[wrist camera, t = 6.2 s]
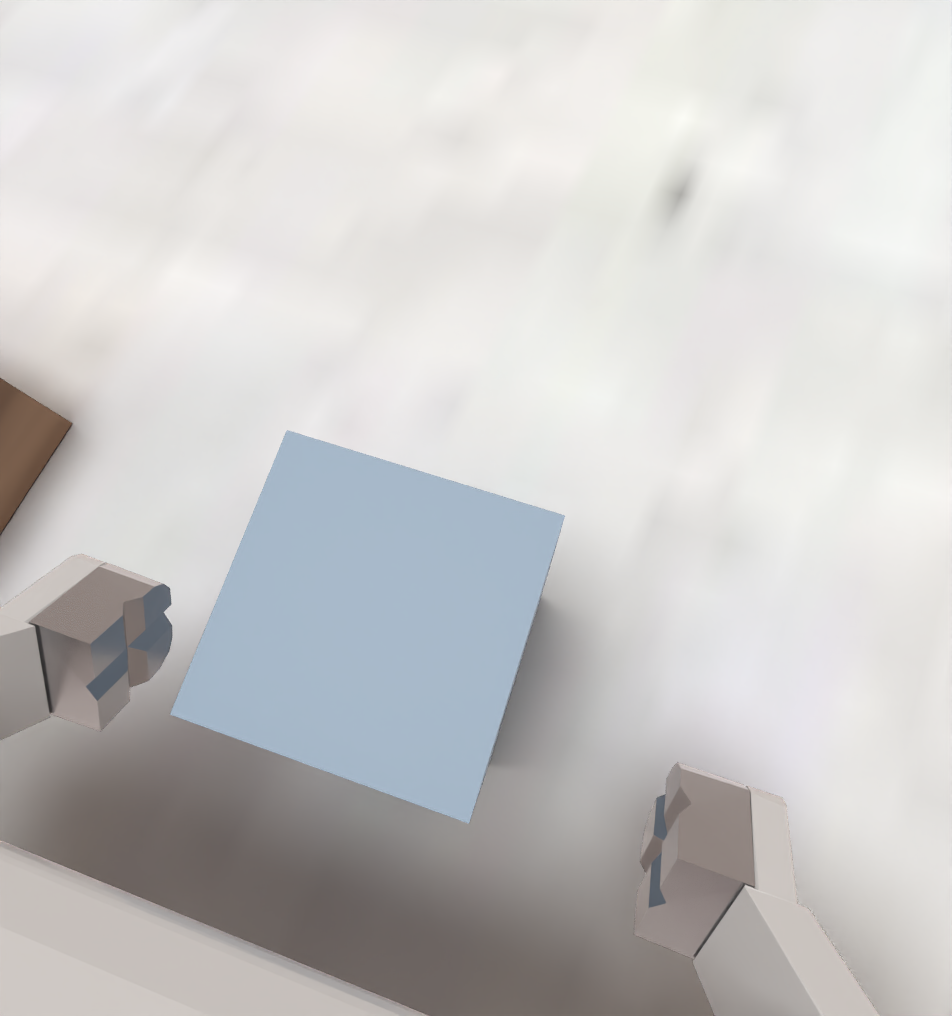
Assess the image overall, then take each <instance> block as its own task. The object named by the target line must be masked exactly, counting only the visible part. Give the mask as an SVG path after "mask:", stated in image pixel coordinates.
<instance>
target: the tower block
mask: <svg viewBox="0 0 952 1016" xmlns="http://www.w3.org/2000/svg"><path fill="white" fill-rule="evenodd" d="M564 517H565V516H564V515H561V514H558V513H555V512H551V511H548V510H545V509H542V508H538V507H535V506H532V505H529V504H525V503H522V502H519V501H516V500H512V499H509V498H506V497H503V496H499V495H496V494H493V493H490V492H486V491H483V490H480V489H477V488H473V487H470V486H467V485H464V484H460V483H457V482H454V481H451V480H447V479H444V478H441V477H438V476H434V475H431V474H428V473H425V472H421V471H418V470H415V469H412V468H408V467H405V466H402V465H399V464H395V463H392V462H389V461H386V460H382V459H379V458H376V457H373V456H369V455H366V454H363V453H359V452H356V451H353V450H350V449H346V448H343V447H340V446H337V445H333V444H330V443H327V442H324V441H320V440H317V439H314V438H311V437H307V436H304V435H301V434H298V433H294V432H291V431H288V430H287V431H286V434H285V436H284V438H283V441H282V443H281V446H280V448H279V451H278V453H277V455H276V458H275V460H274V463H273V465H272V468H271V470H270V472H269V475H268V477H267V480H266V482H265V485H264V487H263V489H262V492H261V494H260V497H259V499H258V502H257V504H256V506H255V509H254V511H253V514H252V516H251V519H250V521H249V523H248V526H247V528H246V531H245V533H244V536H243V538H242V540H241V543H240V545H239V548H238V550H237V553H236V555H235V557H234V560H233V562H232V565H231V567H230V570H229V572H228V574H227V577H226V579H225V582H224V584H223V587H222V589H221V591H220V594H219V596H218V599H217V601H216V604H215V606H214V608H213V611H212V613H211V616H210V618H209V621H208V623H207V625H206V628H205V630H204V633H203V635H202V638H201V640H200V642H199V645H198V647H197V650H196V652H195V655H194V657H193V659H192V662H191V664H190V667H189V669H188V672H187V674H186V676H185V679H184V681H183V684H182V686H181V689H180V691H179V693H178V696H177V698H176V701H175V703H174V706H173V708H172V710H171V713H170V715H173V716H175V717H178V718H181V719H183V720H186V721H189V722H192V723H194V724H197V725H200V726H203V727H205V728H208V729H211V730H214V731H216V732H219V733H222V734H225V735H227V736H230V737H233V738H236V739H238V740H241V741H244V742H247V743H249V744H252V745H255V746H257V747H260V748H263V749H266V750H268V751H271V752H274V753H277V754H279V755H282V756H285V757H288V758H290V759H293V760H296V761H299V762H301V763H304V764H307V765H310V766H312V767H315V768H318V769H321V770H323V771H326V772H329V773H331V774H334V775H337V776H340V777H342V778H345V779H348V780H351V781H353V782H356V783H359V784H362V785H364V786H367V787H370V788H373V789H375V790H378V791H381V792H384V793H386V794H389V795H392V796H395V797H397V798H400V799H403V800H405V801H408V802H411V803H414V804H416V805H419V806H422V807H425V808H427V809H430V810H433V811H436V812H438V813H441V814H444V815H447V816H449V817H452V818H455V819H458V820H460V821H463V822H466V823H469V822H470V819H471V816H472V813H473V810H474V807H475V804H476V801H477V798H478V795H479V792H480V789H481V786H482V783H483V780H484V777H485V774H486V772H487V769H488V766H489V762H490V759H491V756H492V753H493V750H494V746H495V743H496V740H497V737H498V733H499V730H500V727H501V724H502V721H503V717H504V714H505V711H506V708H507V705H508V701H509V698H510V695H511V692H512V689H513V685H514V682H515V679H516V676H517V672H518V669H519V666H520V663H521V660H522V656H523V653H524V650H525V647H526V644H527V640H528V637H529V634H530V631H531V628H532V624H533V621H534V618H535V615H536V611H537V608H538V605H539V602H540V599H541V595H542V592H543V589H544V585H545V582H546V578H547V575H548V572H549V568H550V565H551V561H552V558H553V555H554V551H555V548H556V544H557V541H558V538H559V534H560V531H561V527H562V524H563V521H564Z"/></svg>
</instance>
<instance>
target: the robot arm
mask: <svg viewBox="0 0 952 1016" xmlns="http://www.w3.org/2000/svg"><path fill="white" fill-rule="evenodd" d="M170 605H171V595H170V588H169V587H167V586H166V585H164V584H162V583H160V582H157V581H154V580H152V579H149V578H146V577H144V576H141V575H139V574H136V573H133V572H131V571H128V570H125V569H123V568H120V567H117V566H115V565H112V564H108V563H105V562H103V561H100V560H97V559H95V558H92V557H89V556H87V555H84V554H79V555H74V556H71V557H69V558H68V559H66V560H65V561H64V562H62V563H61V564H60V565H58V566H57V567H56V568H54V569H53V570H52V571H50V572H49V573H47V574H46V575H45V576H43V577H42V578H41V579H39V580H38V581H37V582H35V583H34V584H32V585H31V586H30V587H28V588H27V589H26V590H24V591H23V592H22V593H20V594H19V595H17V596H16V597H15V598H13V599H12V600H11V601H9V602H8V603H7V604H5V605H4V606H2V607H1V608H0V740H2V739H4V738H7V737H9V736H11V735H13V734H15V733H17V732H20V731H22V730H24V729H26V728H28V727H30V726H32V725H35V724H37V723H39V722H41V721H43V720H45V719H48V718H50V714H51V715H54V716H57V717H60V718H63V719H66V720H69V721H72V722H75V723H77V724H80V725H83V726H86V727H89V728H92V729H95V730H98V731H100V732H101V731H102V730H103V729H104V728H105V727H106V726H107V724H108V723H109V722H110V721H111V720H112V719H113V718H114V717H115V716H116V715H117V714H118V713H119V712H120V711H121V710H122V709H123V708H124V707H125V705H126V704H127V703H128V702H129V701H130V688H131V687H133V686H136V685H139V684H142V683H144V682H147V681H149V680H150V679H151V678H152V677H153V675H154V674H155V673H156V672H157V671H158V670H159V669H160V667H161V666H162V664H163V662H164V660H165V658H166V656H167V654H168V652H169V650H170V645H171V641H172V625H171V623H170V622H169V620H168V619H167V617H166V616H165V614H164V613H163V612H164V611H165V610H166V609H167V608H168V607H169V606H170ZM640 863H641V865H642V867H643V869H644V871H645V873H646V874H645V876H644V878H643V880H642V882H641V884H640V886H639V888H638V890H637V899H636V911H635V923H634V935H636V936H638V937H641V938H643V939H645V940H648V941H650V942H653V943H655V944H658V945H660V946H662V947H665V948H667V949H670V950H672V951H675V952H677V953H680V954H682V955H684V956H687V957H689V958H692V959H694V960H693V962H692V963H693V965H694V967H695V970H696V972H697V975H698V977H699V979H700V982H701V984H702V987H703V989H704V991H705V994H706V996H707V999H708V1001H709V1004H710V1006H711V1008H712V1011H713V1013H714V1016H880V1015H879V1014H878V1012H877V1011H876V1009H875V1008H874V1006H873V1005H872V1003H871V1002H870V1000H869V999H868V997H867V996H866V994H865V993H864V991H863V990H862V988H861V987H860V985H859V984H858V982H857V981H856V979H855V978H854V976H853V975H852V973H851V972H850V970H849V969H848V967H847V966H846V964H845V963H844V961H843V960H842V958H841V957H840V955H839V954H838V952H837V951H836V949H835V947H834V946H833V944H832V943H831V941H830V940H829V938H828V937H827V935H826V934H825V932H824V931H823V929H822V928H821V926H820V925H819V923H818V922H817V920H816V919H815V917H814V916H813V914H812V913H811V911H810V910H809V909H808V908H806V907H803V906H801V905H798V903H797V894H796V885H795V876H794V868H793V859H792V850H791V841H790V832H789V823H788V815H787V806H786V803H785V801H784V800H783V798H782V797H779V796H776V795H773V794H770V793H767V792H764V791H761V790H758V789H755V788H752V787H749V786H745V785H744V784H741V783H738V782H735V781H732V780H729V779H726V778H723V777H720V776H717V775H714V774H711V773H708V772H705V771H702V770H699V769H696V768H693V767H690V766H687V765H684V764H681V763H678V762H677V763H676V764H675V765H674V766H673V767H672V769H671V771H670V773H669V775H668V777H667V780H666V794H665V795H663V796H660V797H658V798H656V800H655V803H654V805H653V807H652V809H651V811H650V813H649V817H648V820H647V823H646V826H645V830H644V834H643V840H642V845H641V855H640ZM0 1016H429V1015H426V1014H424V1013H421V1012H419V1011H417V1010H414V1009H412V1008H409V1007H407V1006H404V1005H402V1004H400V1003H397V1002H395V1001H392V1000H390V999H387V998H385V997H382V996H380V995H378V994H375V993H373V992H370V991H368V990H365V989H363V988H361V987H358V986H356V985H353V984H351V983H348V982H346V981H343V980H341V979H339V978H336V977H334V976H331V975H329V974H326V973H324V972H322V971H319V970H317V969H314V968H312V967H309V966H307V965H304V964H302V963H300V962H297V961H295V960H292V959H290V958H287V957H285V956H282V955H280V954H278V953H275V952H273V951H270V950H268V949H265V948H263V947H260V946H258V945H256V944H253V943H251V942H248V941H246V940H243V939H241V938H238V937H236V936H233V935H231V934H229V933H226V932H224V931H221V930H219V929H216V928H214V927H211V926H209V925H207V924H204V923H202V922H199V921H197V920H194V919H192V918H189V917H187V916H185V915H182V914H180V913H177V912H175V911H172V910H170V909H167V908H165V907H162V906H160V905H158V904H155V903H153V902H150V901H148V900H145V899H143V898H140V897H138V896H136V895H133V894H131V893H128V892H126V891H123V890H121V889H118V888H116V887H114V886H111V885H109V884H106V883H104V882H101V881H99V880H96V879H94V878H92V877H89V876H87V875H84V874H82V873H79V872H77V871H75V870H72V869H70V868H67V867H65V866H62V865H60V864H57V863H55V862H53V861H50V860H48V859H45V858H43V857H40V856H38V855H35V854H33V853H31V852H28V851H26V850H23V849H21V848H18V847H16V846H13V845H11V844H9V843H6V842H4V841H1V840H0Z"/></svg>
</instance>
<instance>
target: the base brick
mask: <svg viewBox="0 0 952 1016" xmlns="http://www.w3.org/2000/svg"><path fill="white" fill-rule="evenodd" d="M71 424H72V423H71V422H69V421H68V420H66V419H64V418H63V417H61V416H60V415H58V414H56V413H55V412H53V411H52V410H50V409H49V408H47V407H45V406H44V405H42V404H41V403H39V402H37V401H36V400H34V399H33V398H31V397H29V396H28V395H26V394H25V393H23V392H21V391H20V390H18V389H17V388H15V387H13V386H12V385H10V384H9V383H7V382H5V381H4V380H2V379H1V378H0V533H1V532H2V530H3V529H4V527H5V526H6V524H7V523H8V521H9V520H10V518H11V516H12V515H13V513H14V512H15V510H16V509H17V507H18V506H19V504H20V503H21V501H22V500H23V498H24V496H25V495H26V493H27V492H28V490H29V489H30V487H31V486H32V484H33V483H34V481H35V480H36V478H37V477H38V475H39V473H40V472H41V470H42V469H43V467H44V466H45V464H46V463H47V461H48V460H49V458H50V457H51V455H52V453H53V452H54V450H55V449H56V447H57V446H58V444H59V443H60V441H61V440H62V438H63V437H64V435H65V434H66V432H67V430H68V429H69V427H70V426H71Z"/></svg>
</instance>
